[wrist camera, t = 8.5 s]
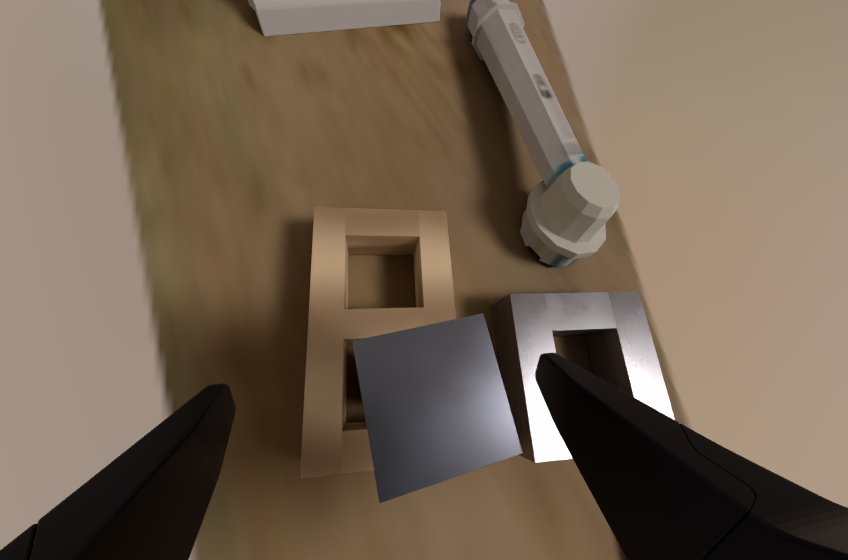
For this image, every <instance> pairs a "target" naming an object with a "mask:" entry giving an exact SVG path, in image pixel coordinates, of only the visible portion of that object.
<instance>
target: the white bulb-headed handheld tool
mask: <svg viewBox="0 0 848 560" xmlns="http://www.w3.org/2000/svg"><path fill="white" fill-rule="evenodd" d="M466 23H467V26H468V28H469V30H470V32H471V34H472V36H473V38H472V43H471V44H472V46H473V48H474V50H475V51H476V53H477V55H478V56H479V58H480V60H484V61H485V63H486V65H487V67H488V69H489V71H490V73H491V75H492V77H493V79H494V81H495V83H496V85H497V87H498V89H499V91H500V93H501V95H502V97H503V100H504V102H505V104H506V106H507V108H508V110H509V112H510V114H511V116H512V118H513V120H514V122H515V124H516V126H517V128H518V130H519V132H520V134H521V136H522V138H523V140H524V142H525V144H526V146H527V148H528V150H529V152H530V154H531V156H532V158H533V160H534V162H535V164H536V167H537V169H538V171H539V173H540V175H541V177H542V179H543V181H542V182H541V183H540V184H539V185H538V186H536V187H535V188H534V189H533V190H532V191H531V193H530V194H529V196H528V201H527V209H526V210H525V212H524V213H523V215H522V216H523V217H522V226H521V229H520V233H521V236H522V238H523V241H524V243H525V246H526V247H529V246H530V247H531V248H532V249H533V250H534V251H535V252H536V253H537V254H538V255H539V256H540V260H539V261H542V262H544V263H546V264H549V265H551V266H553V267H562V266H569V265H571V264H572V263H573V262H574V261H576V260H577V259H578V258H584V257H590V256H591V255H593V254H594V253H595V252H596V251H597V250H598V249H599V247H600V246H601V245H602V244H603V242H604V241H605V240H606V229H605V223H606V222H607V221H608V220H609V218H610V217H611V216H612V215H613V214H614V212H615V211H616V210H617V208H618V205H619V202H620V189H619V187H618V185H617V183H616V182H615V180H614V178H613V177H612V176H611V175H610V174H609V173H608V172H607V171H606V170H604V169H603V168H602V167H601V166H598V165H596V164H593V163H591V162H587V161H586V159H585V157H584V155H583V153H582V151H581V148H580V146H579V144H578V142H577V140H576V138H575V136H574V134H573V132H572V130H571V128H570V125H569V123H568V121H567V119H566V117H565V115H564V113H563V111H562V109H561V107H560V105H559V102H558V100H557V98H556V96H555V94H554V92H553V90H552V88H551V86H550V84H549V82H548V79H547V77H546V75H545V73H544V71H543V69H542V67H541V65H540V63H539V61H538V59H537V56H536V54H535V52H534V50H533V48H532V46H531V44H530V42H529V40H528V38H527V36H526V33H525V31H524V29H523V27H524V25H525V24H524V21H523V18H522V16H521V13H520V11H519V8H518V5H517V4H516V3H510V2H509V0H471V1H470V3H469V8H468V12H467V17H466Z"/></svg>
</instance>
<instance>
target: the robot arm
mask: <svg viewBox="0 0 848 560" xmlns="http://www.w3.org/2000/svg"><path fill="white" fill-rule="evenodd" d="M535 379H536V382H537V384H538V387H539V389H540V391H541V394H542V396H543V398H544V401H545V403H546V406H547V408H548V410H549V413H550V415H551V417H552V420H553V422H554V424H555V426H556V428H557V430H558V432H559V434H560V436H561V438H562V439H563V441H564V443H565V445H566V447H567V449H568V451H569V452H570V454H571V456H572V458H573V460H574V462H575V463H576V465H577V467H578V469H579V471H580V473H581V474H582V476H583V478H584V480H585V482H586V484H587V486H588V487H589V489H590V491H591V493H592V495H593V497H594V498H595V500H596V502H597V504H598V506H599V508H600V510H601V511H602V513H603V515H604V517H605V519H606V521H607V522H608V524H609V526H610V528H611V530H612V532H613V534H614V535H615V537H616V539H617V541H618V543H619V545H620V546H621V548H622V550H623V552H624V554H625V556H626V558H627V559H628V560H848V508H846V507H844V506H841V505H839V504H836V503H834V502H832V501H830V500H827V499H825V498H823V497H821V496H819V495H817V494H815V493H813V492H811V491H809V490H807V489H805V488H803V487H801V486H799V485H797V484H795V483H793V482H791V481H789V480H787V479H785V478H783V477H781V476H779V475H777V474H775V473H773V472H771V471H769V470H767V469H765V468H763V467H761V466H759V465H757V464H755V463H753V462H751V461H749V460H747V459H746V458H744V457H742V456H740V455H738V454H736V453H733V452H732V451H730V450H728V449H726V448H724V447H722V446H720V445H719V444H717V443H715V442H713V441H711V440H709V439H707V438H706V437H704V436H702V435H700V434H698V433H696V432H695V431H693V430H691V429H690V428H688V427H686V426H684V425H682V424H679V423H678V422H677V421H675V420H673V419H672V418H670V417H668V416H666V415H665V414H663V413H661V412H659V411H657V410H656V409H654V408H652V407H650V406H649V405H647V404H645V403H643V402H641V401H640V400H638V399H636V398H634V397H632V396H631V395H629V394H627V393H625V392H624V391H622V390H620V389H618V388H616V387H615V386H613V385H611V384H609V383H608V382H606V381H604V380H602V379H600V378H599V377H597V376H595V375H593V374H592V373H590V372H588V371H586V370H584V369H583V368H581V367H579V366H577V365H576V364H574V363H572V362H570V361H568V360H567V359H565V358H563V357H561V356H560V355H558V354H556V353H543V354H541V355H540V357H539V361H538V364H537V368H536V371H535ZM234 416H235V403H234V400H233V397H232V394H231V391H230V388H229V386H228V385H227V384H224V383H223V384H213V385H209V386H207V387H206V388H204V389H203V390H202V391H201V392H199V393H198V394H197V395H196V396H194V397H193V398H192V399H190V400H189V401H188V402H187V403H185V404H184V405H183V406H182V407H180V408H179V409H178V410H177V411H175V412H174V413H173V414H172V415H170V416H169V417H168V418H167V419H165V420H164V421H163V422H162V423H160V424H159V425H158V426H157V427H156V428H154V429H153V430H151V431H150V432H149V433H148V434H146V435H145V436H144V437H143V438H141V439H140V440H139V441H138V442H136V443H135V444H134V445H133V446H131V447H130V448H129V449H128V450H126V451H125V452H124V453H123V454H121V455H120V456H119V457H118V458H116V459H115V460H114V461H112V462H111V463H110V464H109V465H108V466H106V467H105V468H104V469H102V470H101V471H100V472H99V473H97V474H96V475H95V476H94V477H92V478H91V479H90V480H89V481H88V482H86V483H85V484H84V485H82V486H81V487H80V488H79V489H77V490H76V491H75V492H73V493H72V494H71V495H70V496H68V497H67V498H66V499H65V500H63V501H62V502H61V503H60V504H59V505H57V506H56V507H55V508H54V509H52V510H51V511H50V512H49V513H47V514H46V515H45V516H43V517H42V518H41V519H40V520H39V521H38V524H33V525H32V526H31V527H29V528H28V529H27V530H25V531H24V532H23V533H22V534H20V535H19V536H18V537H17V538H15V539H14V540H13V541H12V542H10V543H9V544H8V545H7V546H5V547H4V548H3V549H2V550H0V560H188V559H189V556H190V554H191V551H192V548H193V545H194V543H195V540H196V537H197V535H198V532H199V529H200V526H201V524H202V521H203V518H204V516H205V513H206V510H207V508H208V505H209V502H210V499H211V497H212V494H213V491H214V489H215V486H216V483H217V480H218V477H219V474H220V471H221V467H222V463H223V460H224V456H225V452H226V448H227V444H228V440H229V436H230V432H231V428H232V424H233V420H234Z"/></svg>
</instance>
